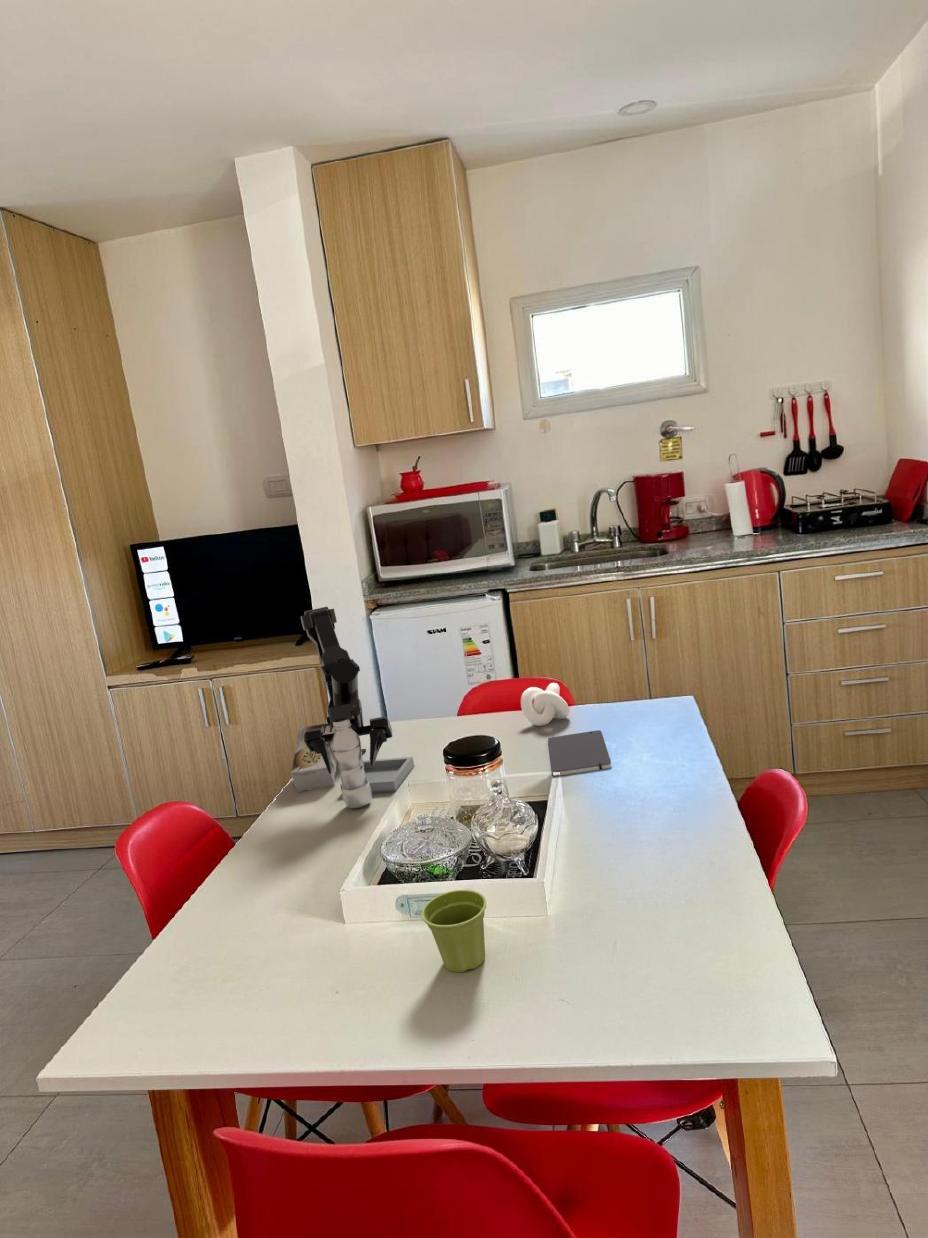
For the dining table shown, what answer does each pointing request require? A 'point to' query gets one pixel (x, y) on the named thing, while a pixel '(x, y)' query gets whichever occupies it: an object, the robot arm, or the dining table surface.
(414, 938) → the dining table surface
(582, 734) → the notebook
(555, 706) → the white knot sculpture
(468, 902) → the plant pot
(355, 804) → the plastic bottle
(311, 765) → the coffee box
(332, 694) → the robot arm
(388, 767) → the grey square tray
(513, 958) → the dining table surface
